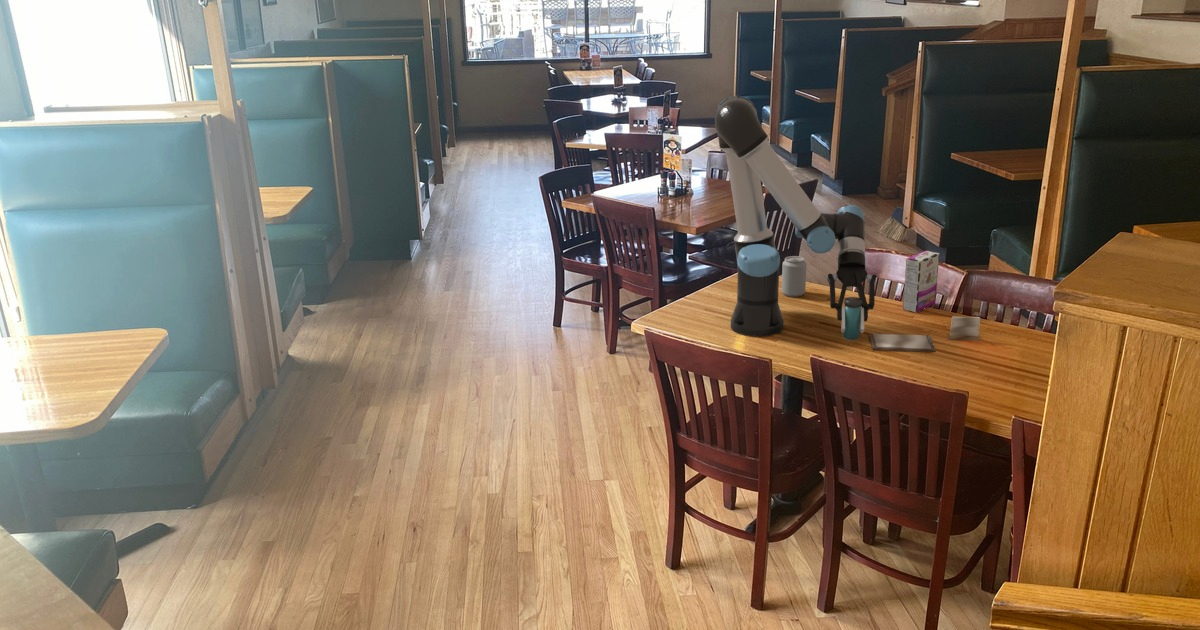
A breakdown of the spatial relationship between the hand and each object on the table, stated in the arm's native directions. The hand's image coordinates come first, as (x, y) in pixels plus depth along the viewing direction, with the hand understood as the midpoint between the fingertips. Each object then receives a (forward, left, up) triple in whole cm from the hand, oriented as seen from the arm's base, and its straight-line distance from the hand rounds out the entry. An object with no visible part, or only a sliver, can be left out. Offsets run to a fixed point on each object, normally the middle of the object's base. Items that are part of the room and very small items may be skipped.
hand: (852, 330), depth 239 cm
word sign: (+30, +5, -3) cm, 31 cm away
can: (-15, +41, -3) cm, 44 cm away
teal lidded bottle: (0, +4, -3) cm, 5 cm away
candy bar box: (+22, +31, -4) cm, 38 cm away
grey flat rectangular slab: (+13, 0, -3) cm, 13 cm away
